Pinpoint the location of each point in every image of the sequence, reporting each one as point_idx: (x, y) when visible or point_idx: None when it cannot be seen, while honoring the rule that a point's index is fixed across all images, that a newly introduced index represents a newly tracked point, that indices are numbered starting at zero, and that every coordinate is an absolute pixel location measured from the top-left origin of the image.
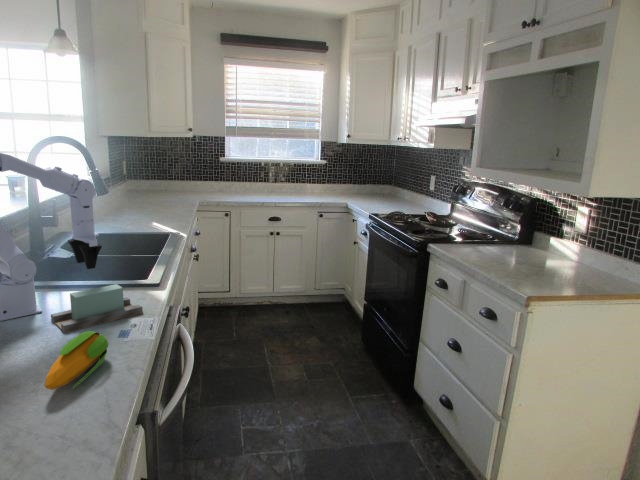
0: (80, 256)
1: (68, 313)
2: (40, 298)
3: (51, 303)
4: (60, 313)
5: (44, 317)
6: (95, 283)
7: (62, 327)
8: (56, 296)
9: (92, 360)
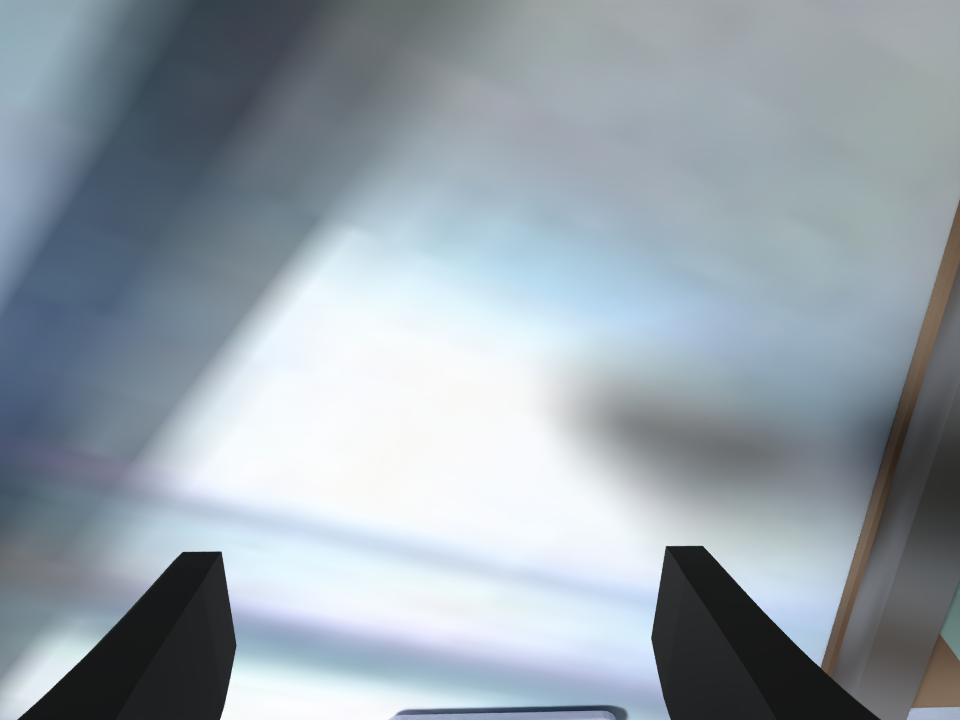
0: (192, 709)
1: (924, 664)
2: (264, 651)
3: (450, 623)
4: (879, 702)
5: None
6: (18, 116)
7: None
8: (286, 556)
9: None
